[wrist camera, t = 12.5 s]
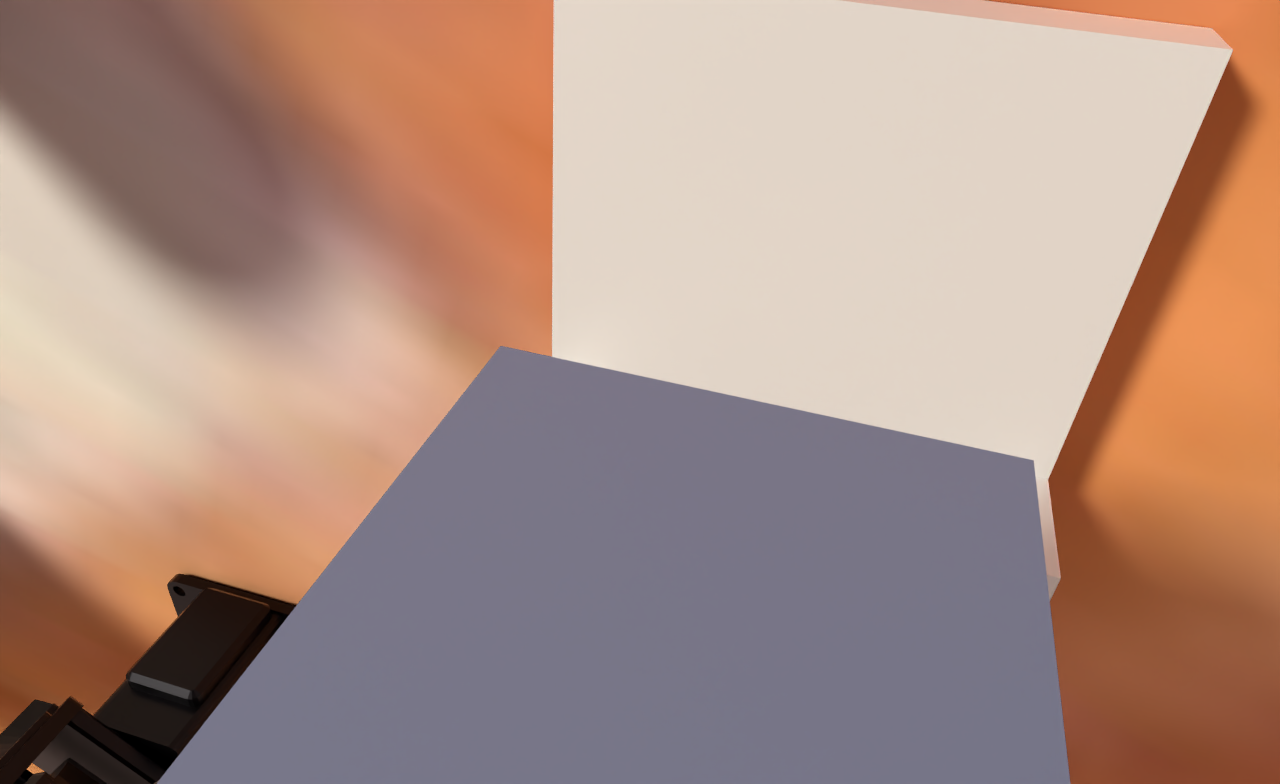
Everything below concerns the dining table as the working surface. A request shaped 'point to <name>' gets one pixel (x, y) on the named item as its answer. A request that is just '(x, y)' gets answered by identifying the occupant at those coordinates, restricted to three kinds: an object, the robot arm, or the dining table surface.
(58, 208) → the dining table surface
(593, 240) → the trap channel
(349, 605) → the blue-gray block
